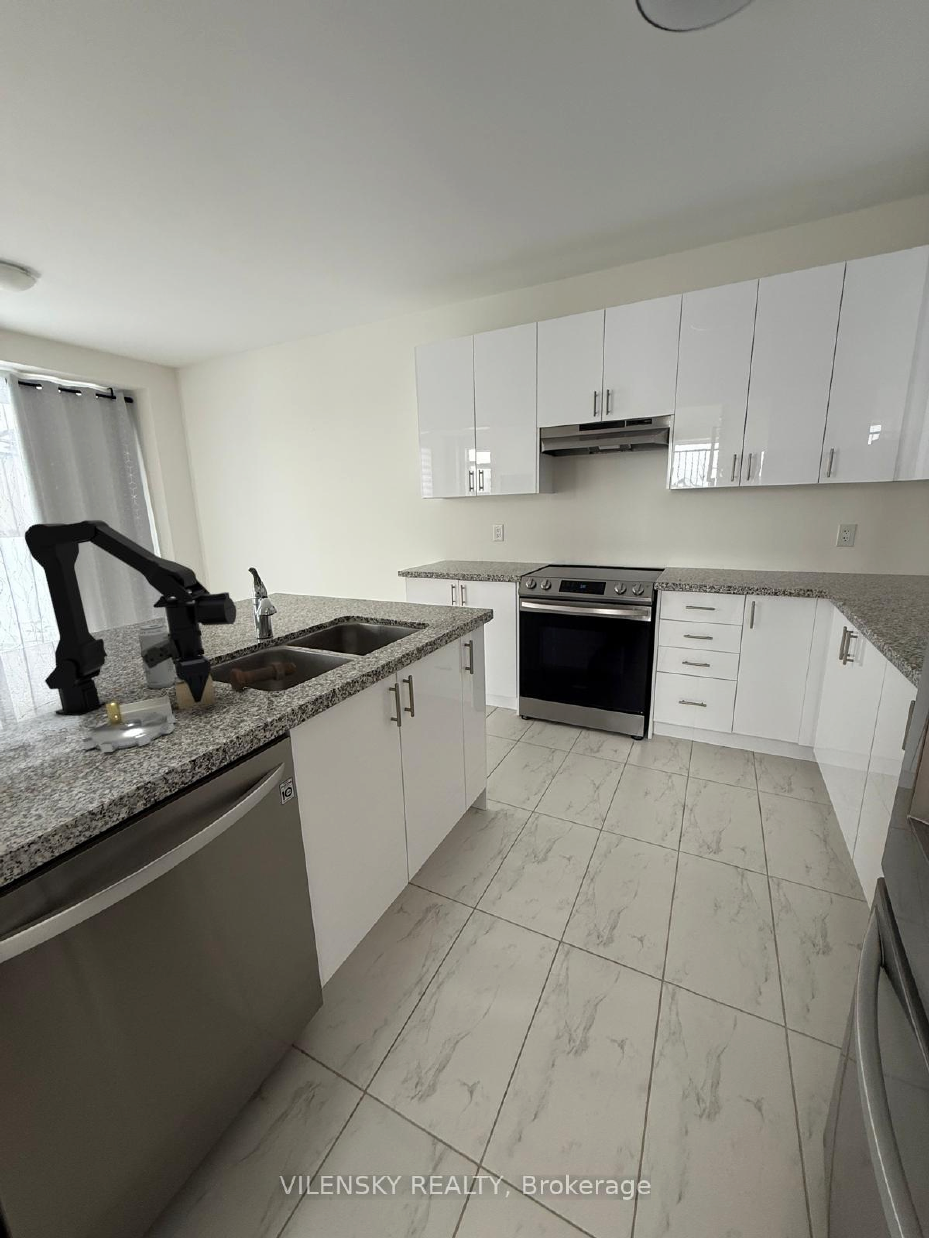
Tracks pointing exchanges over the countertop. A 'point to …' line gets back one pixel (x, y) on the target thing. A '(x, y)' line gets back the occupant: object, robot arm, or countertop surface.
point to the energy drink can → (164, 670)
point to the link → (186, 697)
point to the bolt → (260, 675)
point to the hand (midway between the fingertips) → (195, 695)
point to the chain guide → (147, 707)
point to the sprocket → (127, 729)
